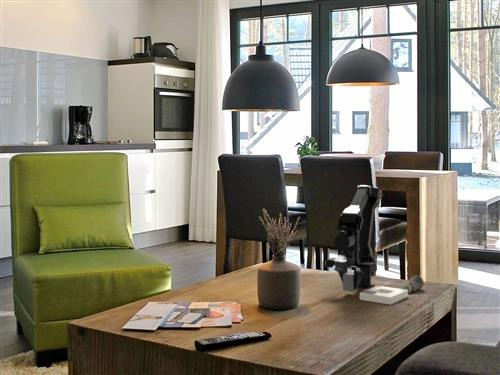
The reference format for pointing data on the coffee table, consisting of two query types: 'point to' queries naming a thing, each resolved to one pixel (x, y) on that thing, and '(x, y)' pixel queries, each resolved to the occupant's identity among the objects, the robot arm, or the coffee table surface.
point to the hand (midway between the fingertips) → (350, 288)
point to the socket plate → (383, 294)
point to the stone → (414, 284)
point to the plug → (349, 283)
